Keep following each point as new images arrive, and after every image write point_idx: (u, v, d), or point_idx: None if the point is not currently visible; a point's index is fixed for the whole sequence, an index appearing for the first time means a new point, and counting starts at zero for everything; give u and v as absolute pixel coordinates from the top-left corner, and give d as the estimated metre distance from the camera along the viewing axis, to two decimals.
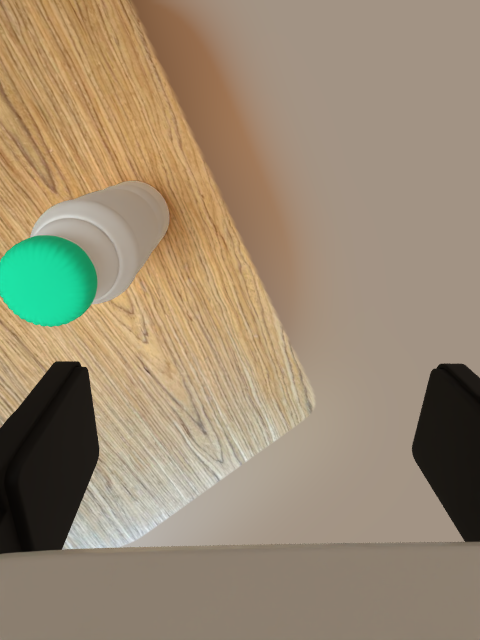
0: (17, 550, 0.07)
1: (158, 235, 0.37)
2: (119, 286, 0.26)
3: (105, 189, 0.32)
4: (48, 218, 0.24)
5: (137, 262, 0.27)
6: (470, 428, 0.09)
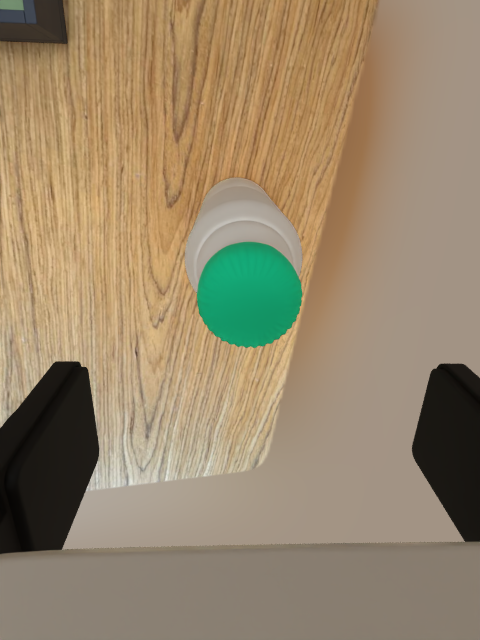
0: (17, 550, 0.07)
1: None
2: None
3: None
4: (252, 215, 0.21)
5: None
6: (470, 428, 0.09)
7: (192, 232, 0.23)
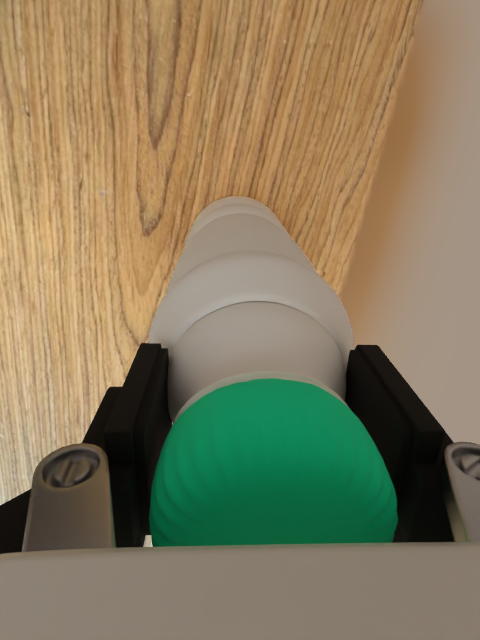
0: (137, 501, 0.08)
1: None
2: None
3: (276, 225, 0.20)
4: (269, 290, 0.11)
5: None
6: (370, 400, 0.10)
7: (159, 313, 0.12)
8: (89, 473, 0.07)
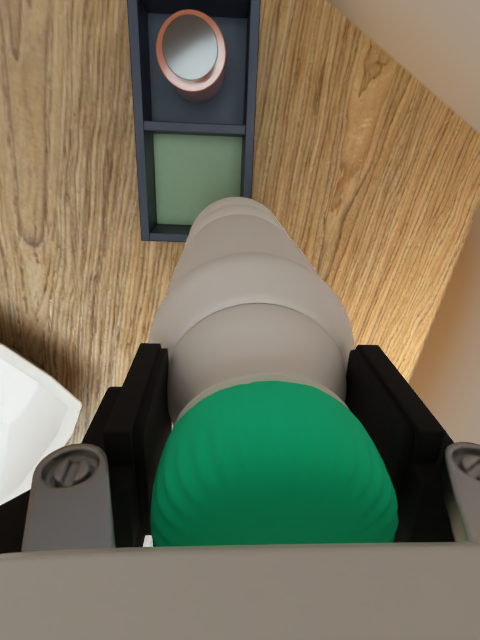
0: (137, 501, 0.08)
1: None
2: None
3: (275, 226, 0.20)
4: (269, 292, 0.11)
5: None
6: (371, 400, 0.10)
7: (159, 315, 0.12)
8: (88, 473, 0.07)
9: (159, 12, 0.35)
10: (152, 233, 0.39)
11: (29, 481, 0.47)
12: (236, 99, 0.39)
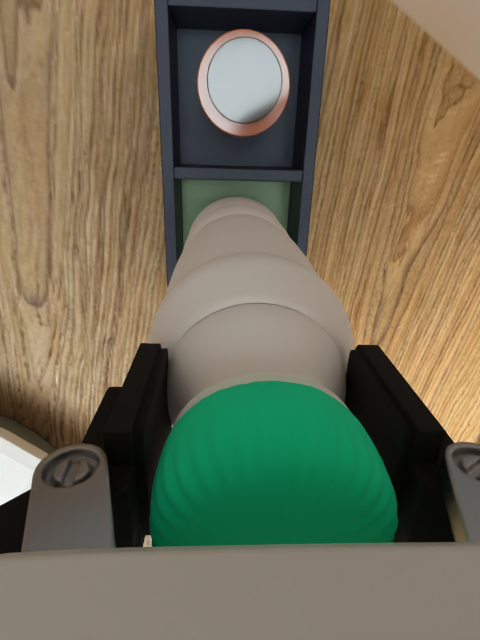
0: (137, 501, 0.08)
1: None
2: None
3: (275, 226, 0.20)
4: (269, 291, 0.11)
5: None
6: (370, 400, 0.10)
7: (158, 315, 0.12)
8: (88, 473, 0.07)
9: (192, 28, 0.28)
10: None
11: None
12: (285, 133, 0.31)
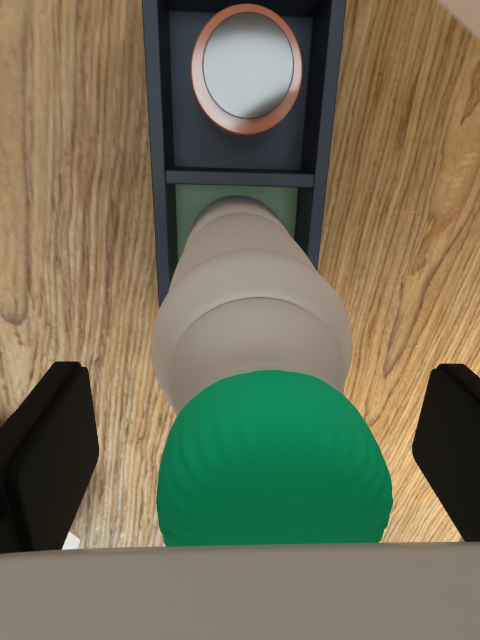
0: (17, 550, 0.07)
1: None
2: None
3: (276, 224, 0.20)
4: (269, 287, 0.11)
5: None
6: (470, 428, 0.09)
7: (162, 309, 0.13)
8: None
9: (186, 10, 0.24)
10: None
11: None
12: (292, 131, 0.28)
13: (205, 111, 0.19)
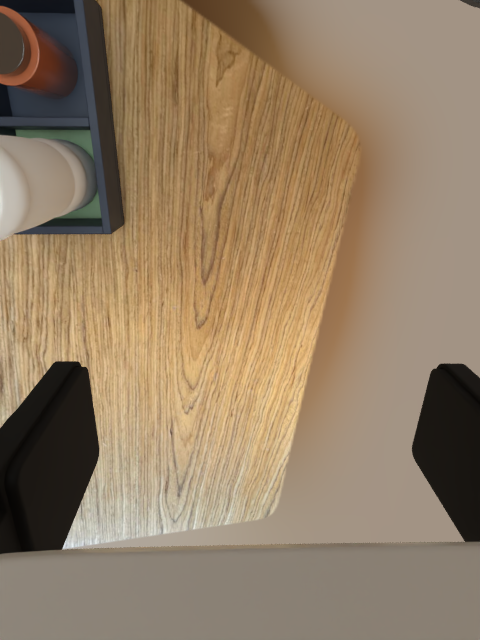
0: (17, 550, 0.07)
1: (68, 208, 0.37)
2: None
3: (37, 142, 0.32)
4: None
5: (17, 226, 0.27)
6: (470, 428, 0.09)
7: None
8: None
9: None
10: None
11: None
12: None
13: None
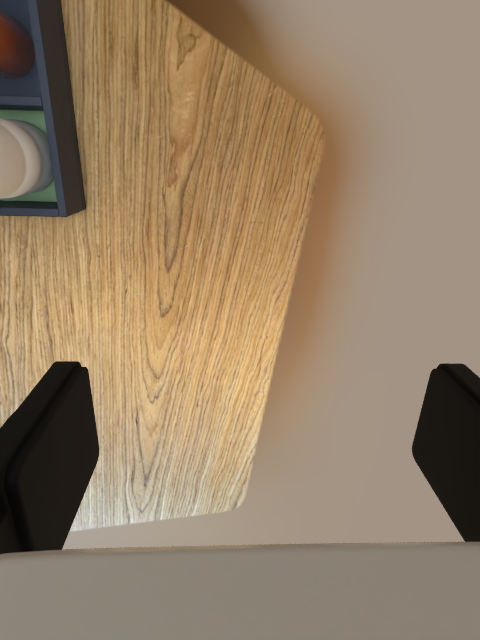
0: (17, 550, 0.07)
1: (20, 188, 0.36)
2: None
3: None
4: None
5: None
6: (470, 428, 0.09)
7: None
8: None
9: None
10: None
11: None
12: None
13: None
